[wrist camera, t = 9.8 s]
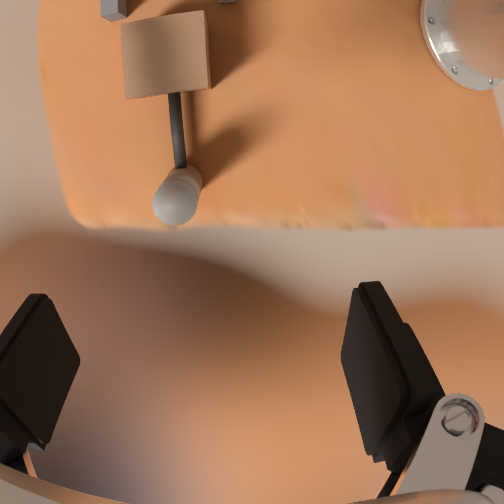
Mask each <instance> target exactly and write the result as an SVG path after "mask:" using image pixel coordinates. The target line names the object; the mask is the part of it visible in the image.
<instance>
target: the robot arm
mask: <svg viewBox="0 0 504 504" xmlns="http://www.w3.org/2000/svg"><path fill="white" fill-rule="evenodd" d="M420 23H421V28H422V33H423V36H424V39H425V42H426V45H427V47H428V49H429V51H430V53H431V55H432V57H433V58H434V60H435V61H436V63H437V64H438V66H439V67H440V68H441V69H442V71H443V72H444V73H445V74H446V75H447V76H448V77H449V78H450V79H452V80H453V81H454V82H456V83H457V84H459V85H460V86H462V87H465V88H467V89H472V90H480V91H485V90H488V89H491V88H493V87H494V86H496V85H497V84H498V83H499V82H500V81H501V80H502V79H504V0H422V2H421V7H420ZM341 363H342V366H343V370H344V373H345V376H346V380H347V384H348V387H349V391H350V395H351V398H352V402H353V406H354V409H355V413H356V417H357V421H358V424H359V428H360V432H361V436H362V440H363V444H364V448H365V451H366V453H367V455H372V457H373V461H374V463H376V462H381V461H385V462H386V465H387V469H388V470H389V473H388V475H387V477H386V478H385V480H384V482H383V484H382V485H381V487H380V489H379V491H378V492H377V494H376V496H375V497H374V499H371V500H366V501H359V502H354V503H349V504H504V430H501V429H499V428H497V427H494V426H492V425H490V424H487V423H485V422H484V420H485V418H484V413H483V410H482V408H481V407H480V405H479V403H477V402H476V401H475V400H474V399H473V398H471V397H469V396H467V395H464V394H460V393H457V394H450V395H447V396H446V395H445V393H444V391H443V389H442V387H441V385H440V382H439V380H438V379H437V376H436V374H435V372H434V370H433V368H432V367H431V365H430V362H429V360H428V359H427V357H426V355H425V353H424V351H423V349H422V347H421V345H420V343H419V341H418V339H417V338H416V336H415V334H414V333H413V330H412V329H411V327H410V326H409V324H407V323H403V321H402V319H401V317H400V315H399V314H398V312H397V310H396V308H395V307H394V305H393V303H392V301H391V299H390V298H389V296H388V294H387V292H386V291H385V289H384V287H383V286H382V284H381V282H379V281H373V282H361V283H360V284H359V286H358V288H354V289H353V291H352V297H351V303H350V309H349V315H348V319H347V325H346V330H345V335H344V340H343V345H342V350H341ZM79 365H80V357H79V354H78V353H77V351H76V349H75V347H74V345H73V343H72V341H71V339H70V337H69V335H68V333H67V331H66V329H65V327H64V325H63V323H62V321H61V319H60V317H59V315H58V312H57V310H56V308H55V306H54V304H53V302H52V300H51V299H49V298H48V296H47V295H46V294H30V295H29V296H28V297H27V298H26V300H25V301H24V302H23V304H22V305H21V307H20V308H19V309H18V310H17V312H16V313H15V315H14V316H13V317H12V319H11V320H10V322H9V323H8V325H7V326H6V327H5V329H4V330H3V332H2V334H1V335H0V504H129V503H124V502H119V501H114V500H110V499H105V498H101V497H97V496H93V495H89V494H85V493H82V492H78V491H75V490H71V489H68V488H65V487H61V486H58V485H55V484H52V483H49V482H46V481H43V480H41V479H38V478H37V476H36V473H35V471H34V468H33V465H32V462H31V459H30V456H29V453H28V450H27V445H28V444H29V445H30V446H31V447H32V448H35V449H38V450H42V451H44V449H45V447H46V444H47V443H49V442H50V440H51V437H52V434H53V431H54V429H55V426H56V423H57V420H58V418H59V415H60V412H61V410H62V407H63V405H64V402H65V399H66V397H67V394H68V392H69V390H70V387H71V385H72V382H73V380H74V377H75V375H76V373H77V370H78V368H79Z"/></svg>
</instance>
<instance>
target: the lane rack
mask: <svg viewBox="0 0 504 504" xmlns="http://www.w3.org/2000/svg"><path fill="white" fill-rule="evenodd" d="M231 2H237V0H219V3H231ZM101 17H103V18H105V19H107V20H109V21H110V22H112V21H116V20H120V19H124V18H127V0H101Z"/></svg>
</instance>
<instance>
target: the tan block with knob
mask: <svg viewBox="0 0 504 504" xmlns="http://www.w3.org/2000/svg"><path fill="white" fill-rule="evenodd" d="M121 43H122V61H123V76H124V88H125V99H126V100H127V99H136V98H145V97H151V96H157V95H164V94H168V101H169V112H170V123H171V133H172V142H173V151H174V160H175V168H173V169H172V170H171V172H170V173H169V174H168V176H167V177H166V179H165V180H164V181H163V183H162V184H161V186H160V187H159V189H158V190H157V192H156V193H155V195H154V197H153V201H152V206H153V211H154V213H155V215H156V216H157V218H158V219H159V220H161V221H162V222H163V223H165V224H168V225H173V226H178V225H182V224H185V223H186V222H188V221H189V220H190V219H191V218H192V217H193V215H194V213H195V211H196V207H197V203H198V200H199V196H200V193H201V189H202V185H203V179H202V175H201V173H200V172H199V171H198V170H197V169H196V168H195V167H193V166H191V165H187V160H186V151H185V141H184V131H183V120H182V108H181V96H180V92H186V91H195V90H205V89H212V78H211V62H210V44H209V25H208V21H207V18H206V15H205V12H204V10H201V11H192V12H184V13H177V14H171V15H164V16H159V17H153V18H148V19H143V20H138V21H133V22H129V23H125V24H121Z"/></svg>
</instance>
